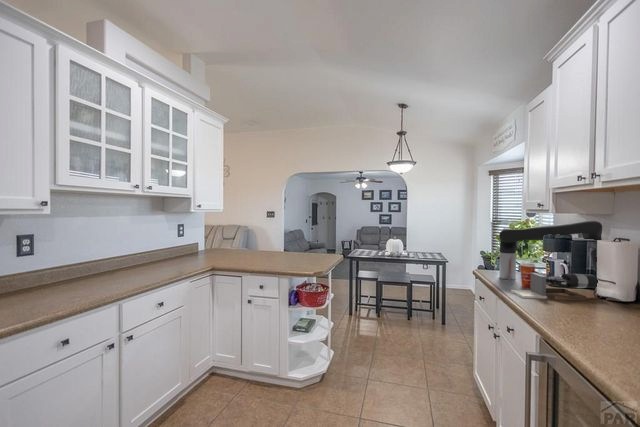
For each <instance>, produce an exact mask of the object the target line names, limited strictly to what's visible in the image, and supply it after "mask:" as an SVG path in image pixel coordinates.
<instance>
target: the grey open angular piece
mask: <svg viewBox="0 0 640 427" xmlns="http://www.w3.org/2000/svg"><path fill="white" fill-rule="evenodd" d="M546 277H547V276H544V275H543V274H542V275H541V274H538V273H536V272H534V273H531V283H530V288H529V289H510V292H511V293H512V292H513V293H512V294H514V293H515V294H514V295H516V294H517V296H518V295H519V296H518V297H520V298H522V299H543V300H544V299H548V296H547V292H546V288H547V283H546Z"/></svg>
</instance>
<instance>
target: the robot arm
mask: <svg viewBox="0 0 640 427" xmlns="http://www.w3.org/2000/svg"><path fill="white" fill-rule="evenodd" d="M547 234H552V235H556V234H560V235H567V236H571V235H578V234H579V235H582V237H583V239H584V240H585V239H594V240H602V234H603V224H602V223H601V222H600V221H598V220H593V219H591V220H582V221H576V222H569V223H560V224H558V223H557V224H546V225H538V226H531V227H528V228H519V229H518V228H517V229H515V228H514V229H513V228H503V229H502V230H501V231H500V232H499V234H498V236H499V241H500V242H499V244H500V245H499V264H498V265H499V268H498V269H499V273H498V274H499V278H500V279H504V280H514V281H515V280H517V279H516V276H517V275H516V274H517V272H516V271H517V269H516V268H517V259H516V258H517V242H522V241H524V242H525V241H544V240H543V236H544V235H547ZM590 257H591V261H592V264H593V267H594V270H595V271H596V269H597V268H596V262H597V257H596V249H595V250H593V251H592V252H591V253H590ZM545 277H546V284H547V283H548V284H551V285H554V286H555V285H557V286H562V287H563V288H565V289H585V288H586V289H591V288H592V289H596V287H597V283H598V280H597V276H596V275H594V274H590V273H589V274H587V273H586V274H585V273H584V274H583V273H582V274H581V273H563V274H561V276H559V275H556V276H552V275H547V276H545ZM596 290H597V289H596Z"/></svg>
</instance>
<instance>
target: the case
mask: <svg viewBox="0 0 640 427" xmlns="http://www.w3.org/2000/svg"><path fill="white" fill-rule="evenodd" d="M549 292H550V293H565V294H567V295H562V294H561V295H557V294H556V295H555V294H554V295H553V300H556V301H557V300H558V301H587V296H586V295H584V294H581V293H578V292H577V291H576V292H575V291H573V290H570V289H569V288H565V287H546V293H549Z"/></svg>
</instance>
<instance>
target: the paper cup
mask: <svg viewBox="0 0 640 427" xmlns="http://www.w3.org/2000/svg"><path fill="white" fill-rule="evenodd" d="M519 265H520V278H521V287H523V288H529V289H530V283H531V273H535V270H536V269H535V268H536V265H535V263H534V262H525V261H524V262H520V264H519Z"/></svg>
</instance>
